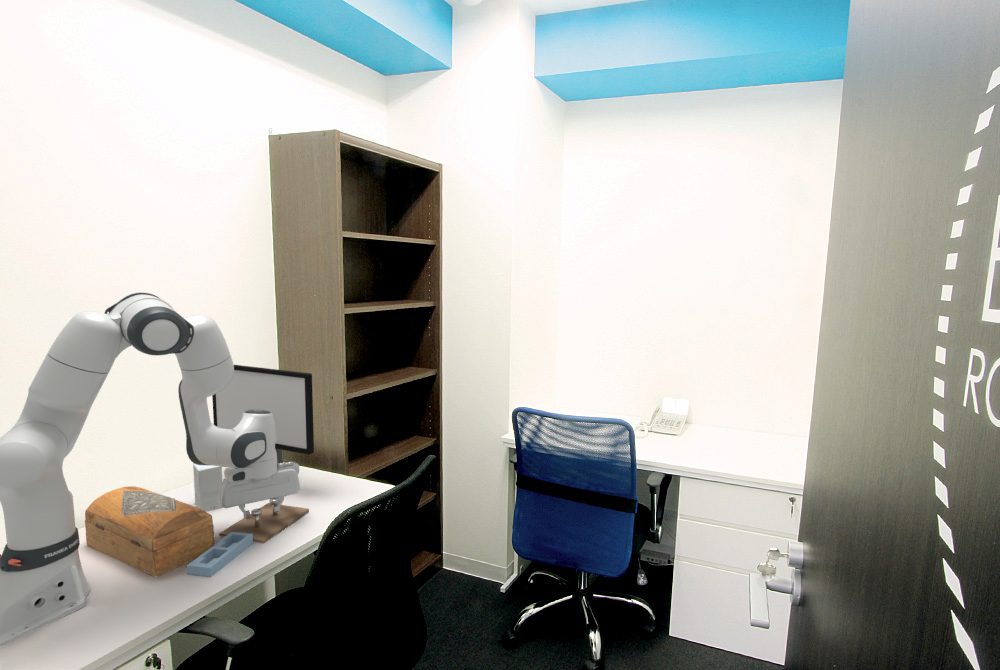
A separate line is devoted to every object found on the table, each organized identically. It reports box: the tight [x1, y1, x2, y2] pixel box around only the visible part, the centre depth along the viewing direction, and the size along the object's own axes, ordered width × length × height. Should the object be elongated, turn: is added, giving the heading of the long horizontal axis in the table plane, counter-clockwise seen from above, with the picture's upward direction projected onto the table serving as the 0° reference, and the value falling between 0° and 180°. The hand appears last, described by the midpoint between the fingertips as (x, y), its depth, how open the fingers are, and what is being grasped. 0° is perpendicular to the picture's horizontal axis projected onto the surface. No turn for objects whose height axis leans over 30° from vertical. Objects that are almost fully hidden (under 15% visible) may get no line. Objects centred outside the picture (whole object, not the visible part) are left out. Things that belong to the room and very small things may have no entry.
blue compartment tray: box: [186, 532, 254, 578], centre depth 135 cm, size 6×16×3 cm, turn 171°
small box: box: [192, 462, 224, 512], centre depth 165 cm, size 8×6×13 cm
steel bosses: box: [250, 498, 278, 527], centre depth 154 cm, size 10×3×5 cm, turn 165°
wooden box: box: [84, 485, 216, 578], centre depth 139 cm, size 30×16×14 cm, turn 61°
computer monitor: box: [211, 364, 315, 497], centre depth 178 cm, size 41×8×40 cm, turn 67°
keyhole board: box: [218, 502, 310, 544], centre depth 155 cm, size 20×14×1 cm
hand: (262, 514), depth 153 cm, fingers open, 6 cm apart
